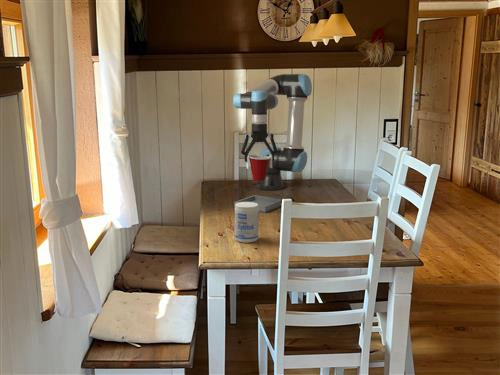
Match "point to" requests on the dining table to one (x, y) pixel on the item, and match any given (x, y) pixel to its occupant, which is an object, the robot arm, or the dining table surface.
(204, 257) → the dining table surface
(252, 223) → the supplement tub
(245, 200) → the tray
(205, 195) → the dining table surface
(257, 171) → the plastic cup
